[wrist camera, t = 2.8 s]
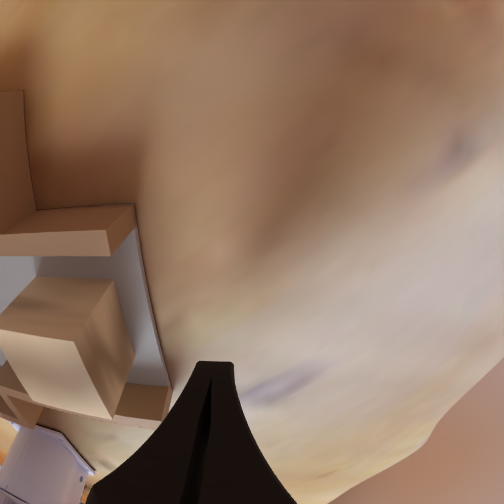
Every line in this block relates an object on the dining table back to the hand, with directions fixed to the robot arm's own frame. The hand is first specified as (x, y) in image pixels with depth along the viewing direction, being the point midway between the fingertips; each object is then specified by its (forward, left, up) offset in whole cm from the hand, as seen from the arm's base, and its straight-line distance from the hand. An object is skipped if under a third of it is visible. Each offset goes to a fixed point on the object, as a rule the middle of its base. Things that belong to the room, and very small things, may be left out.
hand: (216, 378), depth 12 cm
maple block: (0, +8, -4) cm, 8 cm away
